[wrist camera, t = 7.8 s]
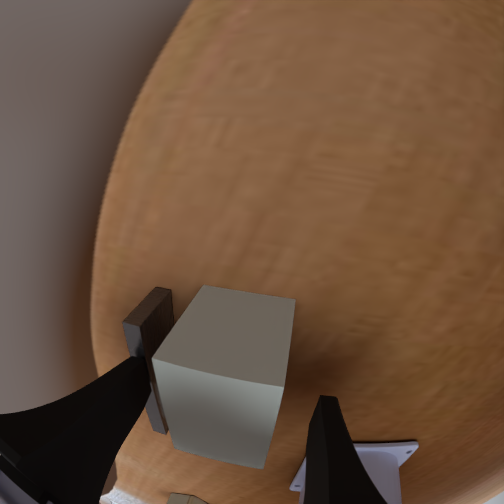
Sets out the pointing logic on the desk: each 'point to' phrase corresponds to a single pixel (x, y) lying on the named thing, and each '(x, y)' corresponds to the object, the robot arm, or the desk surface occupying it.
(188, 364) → the carton
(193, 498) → the skincare box
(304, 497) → the robot arm
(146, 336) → the price rail
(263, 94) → the desk surface
